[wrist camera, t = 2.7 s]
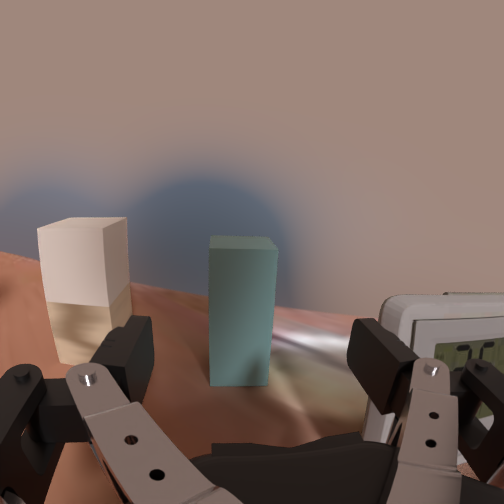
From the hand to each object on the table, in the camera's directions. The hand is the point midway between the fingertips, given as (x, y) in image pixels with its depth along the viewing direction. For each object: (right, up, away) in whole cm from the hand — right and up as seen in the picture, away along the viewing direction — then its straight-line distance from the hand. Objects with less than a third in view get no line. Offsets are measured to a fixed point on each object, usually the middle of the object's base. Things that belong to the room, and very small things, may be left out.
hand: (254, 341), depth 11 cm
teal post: (-1, -7, +13) cm, 15 cm away
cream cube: (-14, 0, +12) cm, 19 cm away
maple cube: (-14, -6, +14) cm, 21 cm away
